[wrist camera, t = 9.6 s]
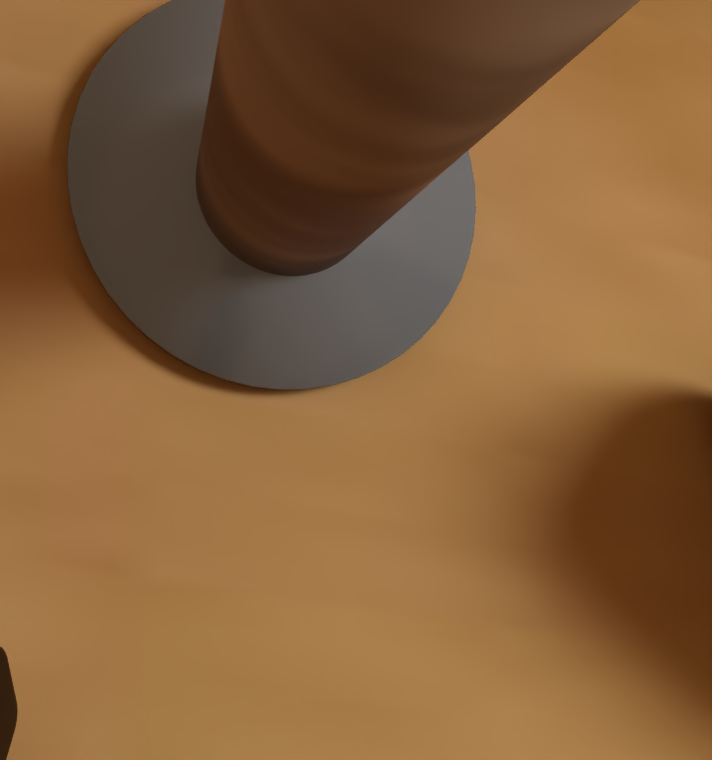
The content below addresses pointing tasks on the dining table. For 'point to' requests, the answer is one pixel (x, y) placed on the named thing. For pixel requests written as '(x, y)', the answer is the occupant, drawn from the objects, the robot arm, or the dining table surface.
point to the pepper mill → (362, 110)
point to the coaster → (210, 258)
